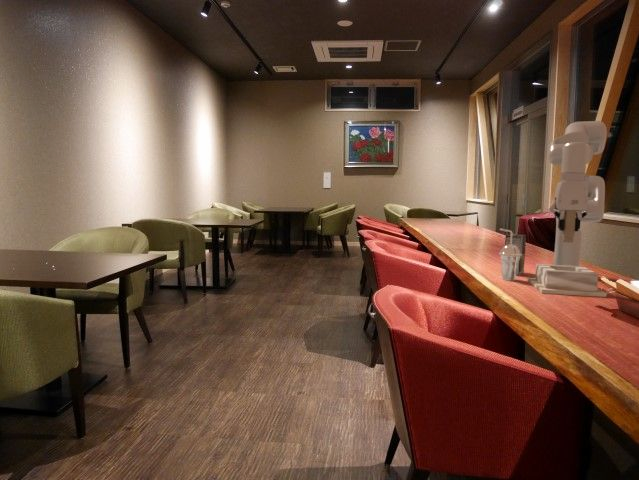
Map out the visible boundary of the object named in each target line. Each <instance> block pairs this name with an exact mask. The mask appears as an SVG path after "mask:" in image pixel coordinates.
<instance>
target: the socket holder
mask: <svg viewBox="0 0 639 480" xmlns="http://www.w3.org/2000/svg"><path fill="white" fill-rule="evenodd" d="M535 266H536V267H535V277H534V278H533V277H532V278H531V277H528V278H527V282H528V283H529V284H530V285H532V286H533V287H534V288H535V289H536V290H537V291H539V292H540V293H541V294H547V295H548V294H550V295H567V296H582V297H600V298H601V297H602V298H607V293H606V292H605V291H603V290H601V289H599V288H598V280H599V273H598V272H595V271H593V270H591V269H589V268H587V267H585V266H584V265H579V266H568V265H554V264H546V263H544V264H543V263H536V264H535Z"/></svg>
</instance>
